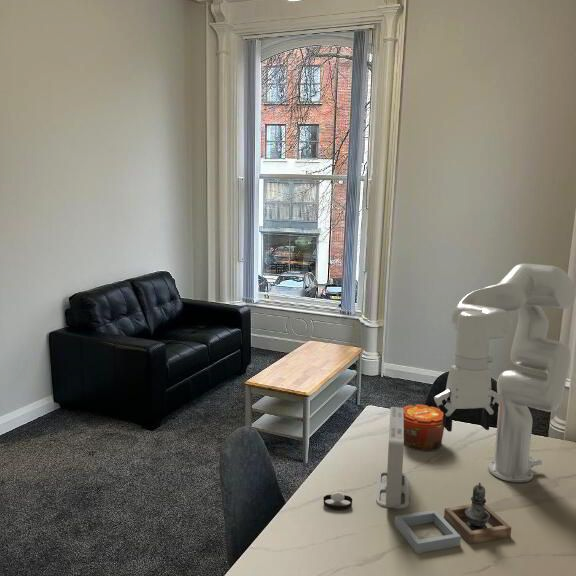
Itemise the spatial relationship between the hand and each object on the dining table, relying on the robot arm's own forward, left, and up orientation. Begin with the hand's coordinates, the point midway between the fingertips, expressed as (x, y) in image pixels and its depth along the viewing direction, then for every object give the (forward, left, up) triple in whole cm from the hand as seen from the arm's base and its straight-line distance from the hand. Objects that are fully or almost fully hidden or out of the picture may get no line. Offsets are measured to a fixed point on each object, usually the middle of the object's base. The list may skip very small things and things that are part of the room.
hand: (466, 428), depth 136 cm
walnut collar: (-3, +3, -25) cm, 25 cm away
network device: (+10, -18, -25) cm, 33 cm away
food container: (-13, -43, -25) cm, 52 cm away
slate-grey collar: (+11, +3, -25) cm, 28 cm away
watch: (+28, -14, -26) cm, 40 cm away
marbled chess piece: (-3, +3, -25) cm, 26 cm away
